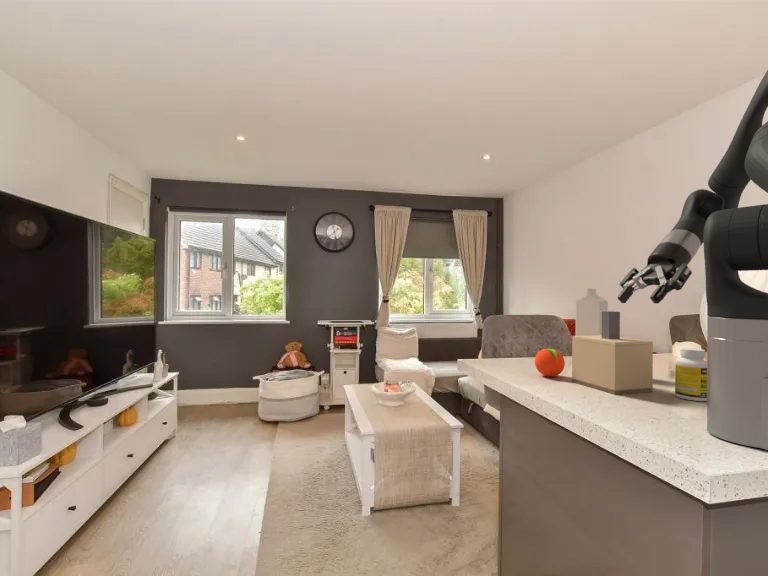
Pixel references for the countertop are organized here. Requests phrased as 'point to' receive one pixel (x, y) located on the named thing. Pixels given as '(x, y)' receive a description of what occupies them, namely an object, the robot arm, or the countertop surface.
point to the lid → (611, 332)
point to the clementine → (549, 362)
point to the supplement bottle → (691, 375)
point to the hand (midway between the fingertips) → (636, 300)
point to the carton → (613, 366)
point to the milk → (590, 314)
